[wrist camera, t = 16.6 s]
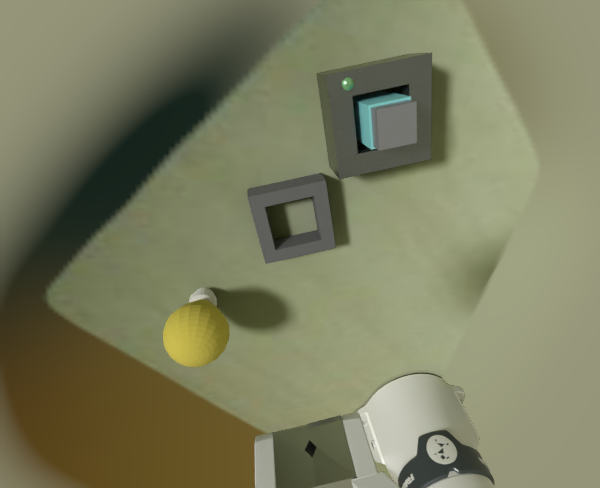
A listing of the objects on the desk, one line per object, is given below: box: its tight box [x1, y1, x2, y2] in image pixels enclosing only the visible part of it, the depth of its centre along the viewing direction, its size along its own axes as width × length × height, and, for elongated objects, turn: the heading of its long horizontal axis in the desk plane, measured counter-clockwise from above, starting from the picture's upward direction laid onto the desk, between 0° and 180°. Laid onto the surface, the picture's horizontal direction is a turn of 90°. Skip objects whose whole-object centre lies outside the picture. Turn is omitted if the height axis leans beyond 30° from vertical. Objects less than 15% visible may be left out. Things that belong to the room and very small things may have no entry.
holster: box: [248, 173, 336, 264], centre depth 37 cm, size 8×8×2 cm
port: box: [317, 53, 432, 179], centre depth 32 cm, size 9×9×5 cm
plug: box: [352, 91, 417, 151], centre depth 31 cm, size 4×4×8 cm
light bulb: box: [163, 288, 229, 367], centre depth 37 cm, size 7×7×10 cm
